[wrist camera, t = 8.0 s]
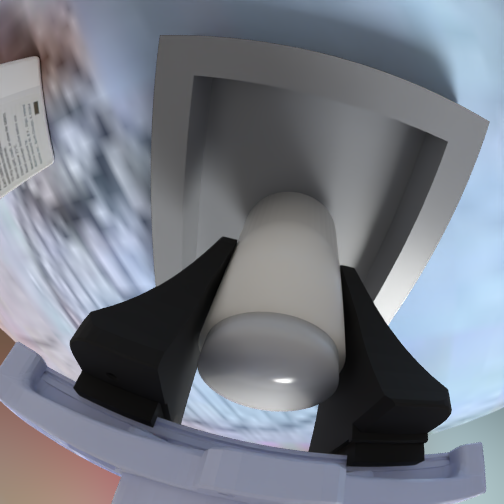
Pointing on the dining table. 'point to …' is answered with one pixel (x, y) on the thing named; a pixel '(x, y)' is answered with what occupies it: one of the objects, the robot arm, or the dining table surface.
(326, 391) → the shaker
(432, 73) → the dining table surface
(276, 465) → the robot arm
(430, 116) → the tray
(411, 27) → the dining table surface
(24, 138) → the container
